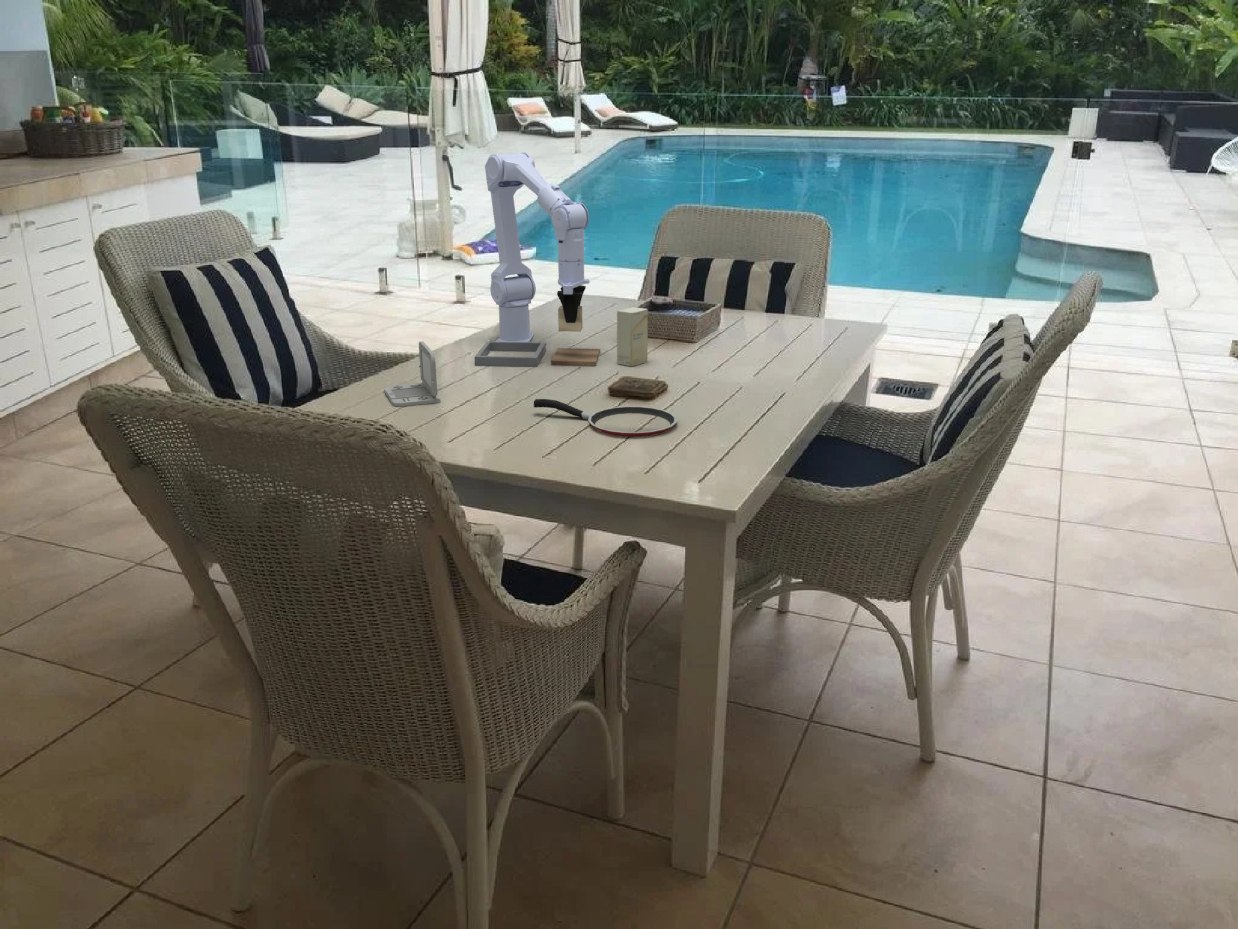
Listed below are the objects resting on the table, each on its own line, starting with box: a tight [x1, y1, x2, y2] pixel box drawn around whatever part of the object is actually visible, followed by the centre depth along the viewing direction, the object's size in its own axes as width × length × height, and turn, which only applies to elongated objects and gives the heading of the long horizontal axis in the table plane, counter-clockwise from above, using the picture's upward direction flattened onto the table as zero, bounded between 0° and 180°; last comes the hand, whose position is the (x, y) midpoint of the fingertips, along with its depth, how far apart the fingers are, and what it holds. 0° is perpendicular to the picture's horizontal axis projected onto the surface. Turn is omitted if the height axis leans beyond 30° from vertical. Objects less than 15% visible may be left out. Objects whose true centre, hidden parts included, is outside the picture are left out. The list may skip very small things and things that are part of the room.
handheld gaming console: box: [383, 341, 441, 408], centre depth 211 cm, size 13×9×10 cm
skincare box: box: [616, 306, 649, 367], centre depth 236 cm, size 6×4×12 cm
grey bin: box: [473, 340, 547, 368], centre depth 242 cm, size 15×14×2 cm
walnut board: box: [550, 347, 601, 367], centre depth 241 cm, size 12×10×1 cm
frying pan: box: [533, 398, 678, 438], centre depth 197 cm, size 28×16×3 cm, turn 72°
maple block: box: [557, 305, 583, 333], centre depth 238 cm, size 4×5×5 cm
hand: (572, 320), depth 239 cm, fingers closed on maple block, 4 cm apart
